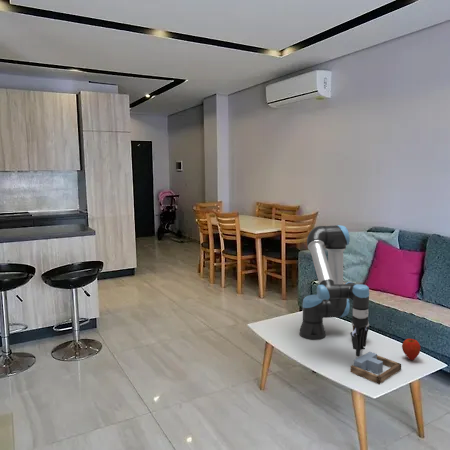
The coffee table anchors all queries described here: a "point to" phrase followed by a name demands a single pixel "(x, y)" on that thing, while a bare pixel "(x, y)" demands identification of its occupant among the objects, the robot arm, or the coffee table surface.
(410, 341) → the apple
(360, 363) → the t block
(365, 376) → the walnut fence
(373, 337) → the coffee table surface
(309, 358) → the coffee table surface
